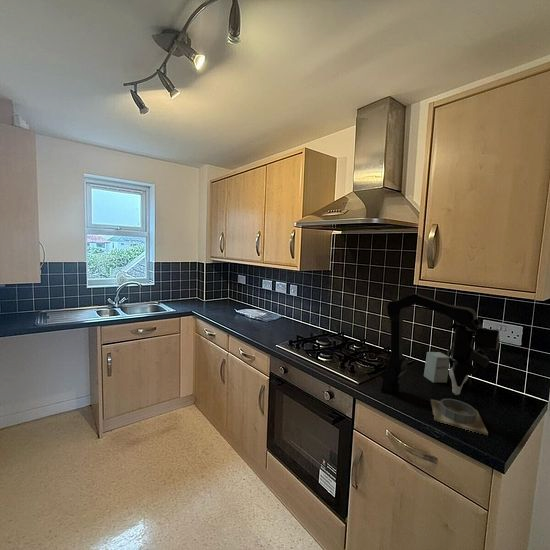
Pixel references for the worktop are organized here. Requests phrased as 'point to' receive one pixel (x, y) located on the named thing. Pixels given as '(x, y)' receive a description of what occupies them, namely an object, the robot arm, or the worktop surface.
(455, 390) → the lightbulb
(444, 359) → the supplement box
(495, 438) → the worktop surface
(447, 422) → the socket board
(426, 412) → the worktop surface
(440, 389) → the worktop surface
